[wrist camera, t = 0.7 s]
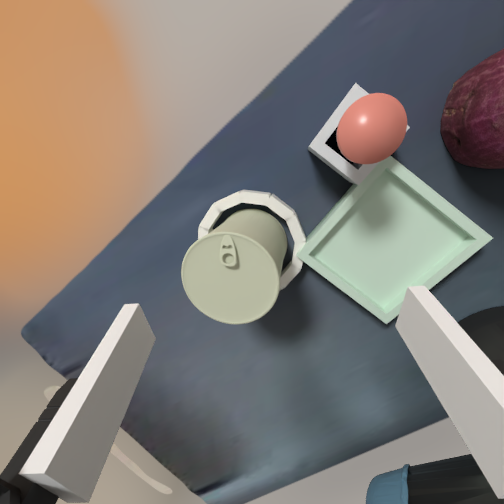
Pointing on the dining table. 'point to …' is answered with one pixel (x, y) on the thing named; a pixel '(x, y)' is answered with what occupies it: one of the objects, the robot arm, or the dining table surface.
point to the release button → (371, 128)
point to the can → (236, 267)
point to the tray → (390, 239)
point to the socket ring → (275, 206)
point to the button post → (328, 155)
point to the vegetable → (477, 115)
